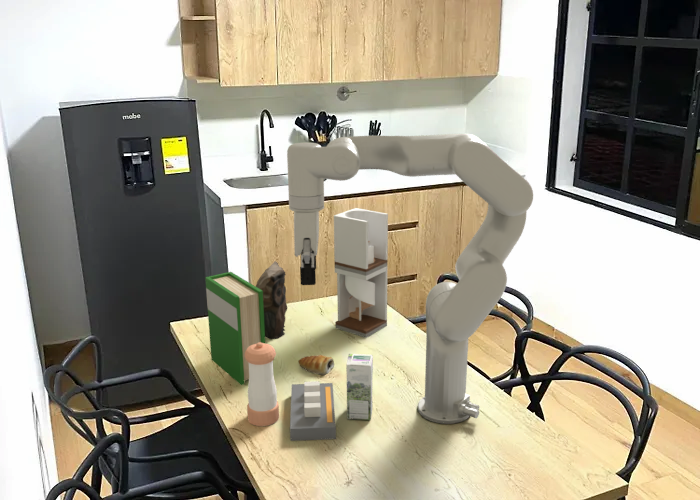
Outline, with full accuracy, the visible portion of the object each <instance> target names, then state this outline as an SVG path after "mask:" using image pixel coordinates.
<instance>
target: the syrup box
mask: <svg viewBox="0 0 700 500" xmlns="http://www.w3.org/2000/svg"><path fill="white" fill-rule="evenodd" d="M373 358H374V357H373V354H369V353H368V354H365V353H364V354H363V353H361V354H360V353H348V357H347V359H346V419H347V420H360V421H371V420H372V415H373V374H374V373H373V365H374V364H373V363H374V359H373Z"/></svg>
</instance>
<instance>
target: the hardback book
mask: <svg viewBox="0 0 700 500" xmlns="http://www.w3.org/2000/svg"><path fill="white" fill-rule="evenodd" d="M205 291H206V293H205V294H206V304H207V319H208V328H209V329H208V331H209V343H210V345H209V346H210V360H211V361H212V362H213V363H215V364H216V365H217V366H218V367H219V368H220V369H222V370H223V371H224V372H225V373H226V374H228V376H229V377H231V378H232V379H234V381H235V382H237V383H238V384H239V385H240V386H244V385H246V384H245V381H247V380H248V381H249V362H248V361H247V360H246V359H245V351H246V350H247V348H248V347H249V346H251V345H253V344H257V343H259V342H261V343H265V344H266V337H265V327H264V307H263V291H262V290H260V289H259V288H257V287H256V285H253V284H252V283H251V282H249V281H247V280H245V279H244V278H242V277H241V276H239V275H237V274H235V273H234V272H233V271H228V272H224V273H220V274H213V275H209V276H205Z"/></svg>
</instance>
